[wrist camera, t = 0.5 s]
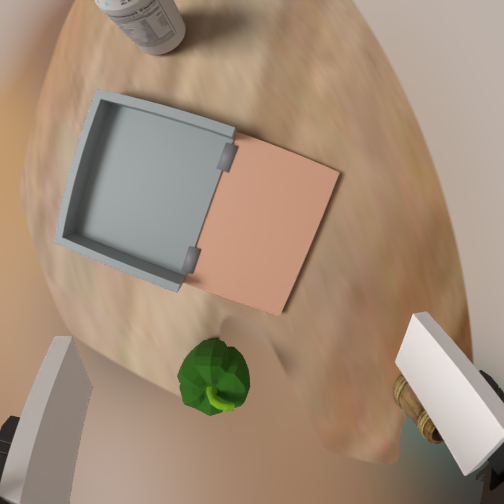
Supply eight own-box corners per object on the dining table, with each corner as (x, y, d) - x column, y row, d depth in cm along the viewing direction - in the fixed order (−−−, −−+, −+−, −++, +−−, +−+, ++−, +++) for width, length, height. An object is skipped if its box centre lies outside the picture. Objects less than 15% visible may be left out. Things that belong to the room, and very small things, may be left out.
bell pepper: (175, 362, 41) (157, 409, 31) (205, 318, 39) (192, 362, 30) (227, 390, 42) (223, 441, 32) (261, 350, 40) (264, 399, 31)
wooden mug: (447, 329, 40) (517, 396, 23) (436, 396, 43) (484, 467, 26) (396, 343, 40) (458, 425, 23) (389, 411, 44) (430, 492, 26)
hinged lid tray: (112, 96, 32) (96, 88, 28) (336, 172, 35) (348, 172, 31) (72, 234, 37) (54, 242, 32) (278, 312, 39) (282, 329, 35)
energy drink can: (190, 15, 30) (161, -54, 16) (182, 57, 32) (145, -3, 17) (144, 17, 30) (97, -44, 15) (135, 58, 31) (77, 8, 17)
